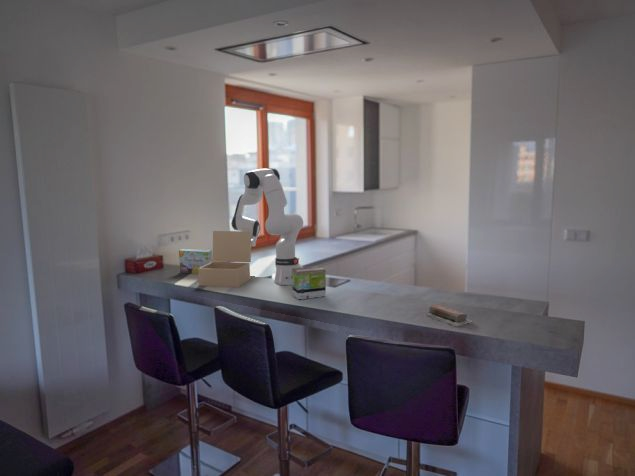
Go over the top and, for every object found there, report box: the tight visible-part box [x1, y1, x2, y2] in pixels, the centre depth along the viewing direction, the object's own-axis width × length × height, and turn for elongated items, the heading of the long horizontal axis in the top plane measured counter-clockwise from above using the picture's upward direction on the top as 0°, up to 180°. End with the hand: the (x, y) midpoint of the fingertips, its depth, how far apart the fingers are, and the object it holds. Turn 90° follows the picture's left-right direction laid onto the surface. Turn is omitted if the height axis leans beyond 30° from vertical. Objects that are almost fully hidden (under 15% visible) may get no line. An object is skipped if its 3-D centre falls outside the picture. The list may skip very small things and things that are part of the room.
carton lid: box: [212, 230, 252, 263], centre depth 282 cm, size 24×19×1 cm
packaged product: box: [426, 304, 473, 325], centre depth 202 cm, size 18×5×10 cm
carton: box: [197, 261, 251, 288], centre depth 273 cm, size 24×18×10 cm
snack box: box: [178, 248, 213, 275], centre depth 299 cm, size 21×6×15 cm, turn 73°
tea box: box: [291, 265, 327, 300], centre depth 240 cm, size 15×10×15 cm, turn 112°
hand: (234, 244), depth 285 cm, fingers closed
